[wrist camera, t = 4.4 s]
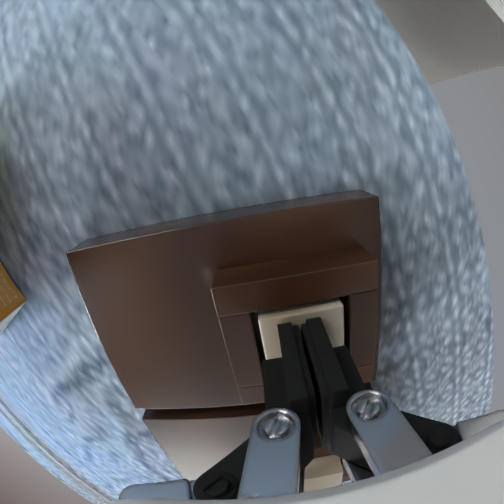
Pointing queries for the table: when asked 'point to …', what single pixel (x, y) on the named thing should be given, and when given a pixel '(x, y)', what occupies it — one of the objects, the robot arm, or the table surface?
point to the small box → (8, 299)
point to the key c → (301, 322)
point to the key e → (323, 473)
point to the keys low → (228, 293)
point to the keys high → (208, 435)
